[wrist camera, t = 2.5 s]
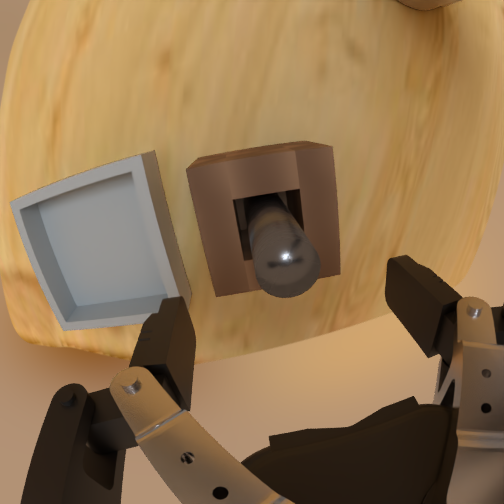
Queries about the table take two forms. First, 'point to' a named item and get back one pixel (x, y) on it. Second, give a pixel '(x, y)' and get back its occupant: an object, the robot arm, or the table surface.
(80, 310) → the tray
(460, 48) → the table surface
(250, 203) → the pin
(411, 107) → the table surface
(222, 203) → the pin block
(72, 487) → the robot arm
